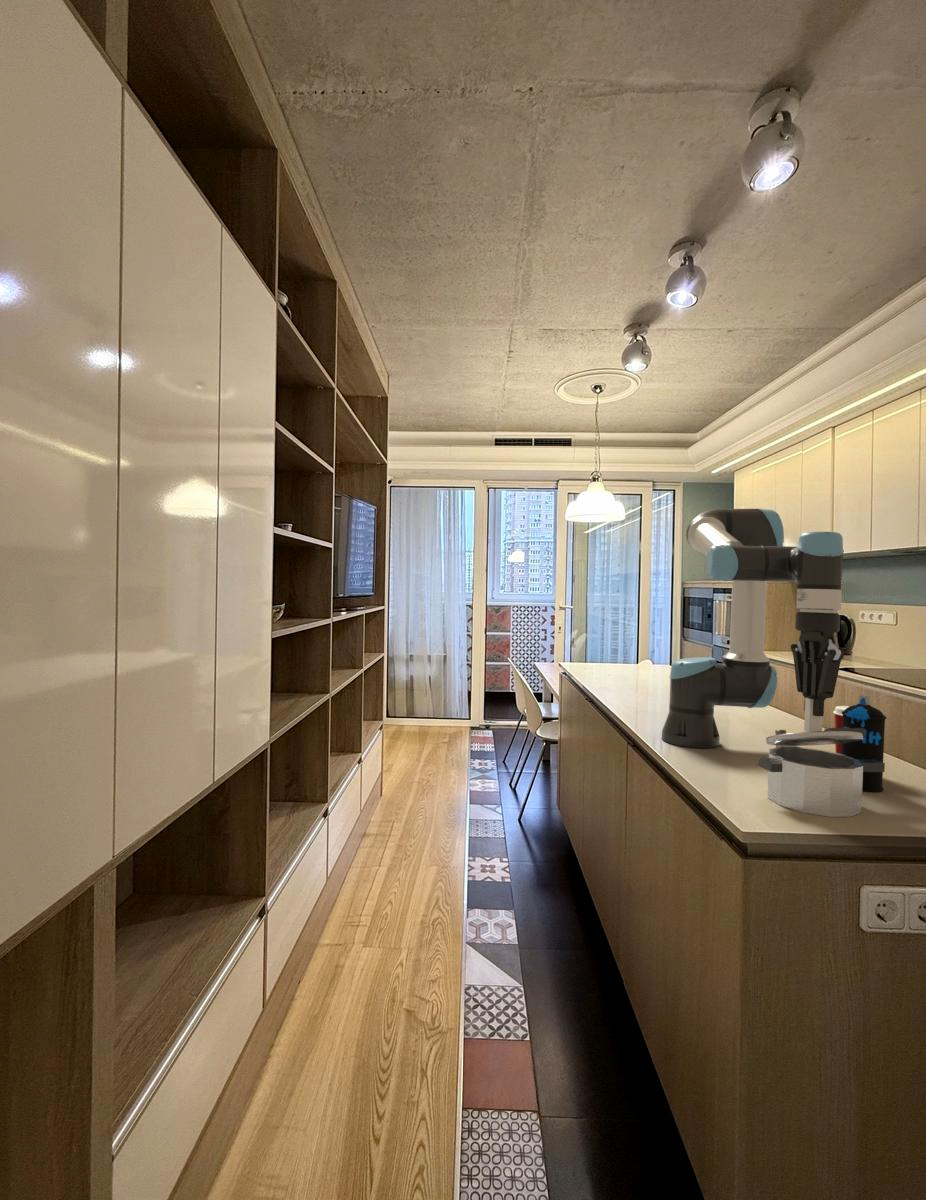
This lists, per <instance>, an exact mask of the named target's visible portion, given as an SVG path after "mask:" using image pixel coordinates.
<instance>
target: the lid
mask: <svg viewBox="0 0 926 1200" xmlns="http://www.w3.org/2000/svg"><path fill="white" fill-rule="evenodd" d="M774 731H775V735H768V736H767V737H765V741H766V742H765V743H766V744H767V745H772V746H776V745H779V746H798V747H805V746H806V747H807V746H810V747H811V746H824V745H825V746H826V745H835V744H841V743H849V742H856V741H860V740H863V737H865V736H866V735H865V731H864V728H835V727H829V728H824V729H823V730H822V731H816V732H806V731H802V732H801V731H800V732H799V731H798V732H790V733H789V732H788V733H787V730H786V729H778V730H777V729H776V730H774Z"/></svg>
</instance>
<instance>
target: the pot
mask: <svg viewBox="0 0 926 1200" xmlns="http://www.w3.org/2000/svg"><path fill="white" fill-rule="evenodd" d="M885 764H886V763H885V762H884V761H883V762H880V761H878V760H875V759H854V758H852V757H849V756H847V755H844V754H839V753H836V751H835V752H834V751H829V750H826V749H818V748H811V747H810V748H809V747H805V746H779V745H775V747H772V748H769V749H768V757H758V766H759V767H760V768H763V769H764V770H766V771H767V791H766V792H767V799H769V800H770V801H773V802H774V803H776V804H777V805H779V806H780V807H784V808H787V809H791V810H793V811H797V812H800V813H802V814H803V813H804V814H811V815H815V816H816V815H817V816H823V817H830V818H835V817H836V818H841V817H842V818H843V817H844V818H849V817H850V818H852V817H855V816H856V815H859V814H861V813H862V805H863V803H862V802H863V801H862V800H863V791H862V782H863V772H883V773H885V766H886V765H885Z"/></svg>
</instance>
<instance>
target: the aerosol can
mask: <svg viewBox="0 0 926 1200" xmlns="http://www.w3.org/2000/svg"><path fill="white" fill-rule="evenodd" d="M870 701H871V696H870V695H868V694H859V695H858V703H857V704H855V705H854V704H853V705H850V707H848V708H846V709H845V710H844V711H842V714H843V724H842V728H864V731H865V735H866V736H865V737H863V740H860V741H856V742H849V743H842V749H841V754H844V755H847V756H849V757H852V758H854V759H875V760H878V761H880V762H883V763H884V756H885V755H884V751H885V749H884V748H885V731H886V729H885V726H886V720H887V716H886V715H884V713H883V712H882V711H881V710H880V709H878V708H877V707H875V706H874V707H873V706H872V705H871V703H870ZM883 773H884V772H863V782H862V792H867V793H881V792H883V791H884V787H883V776H884V775H883Z"/></svg>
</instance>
